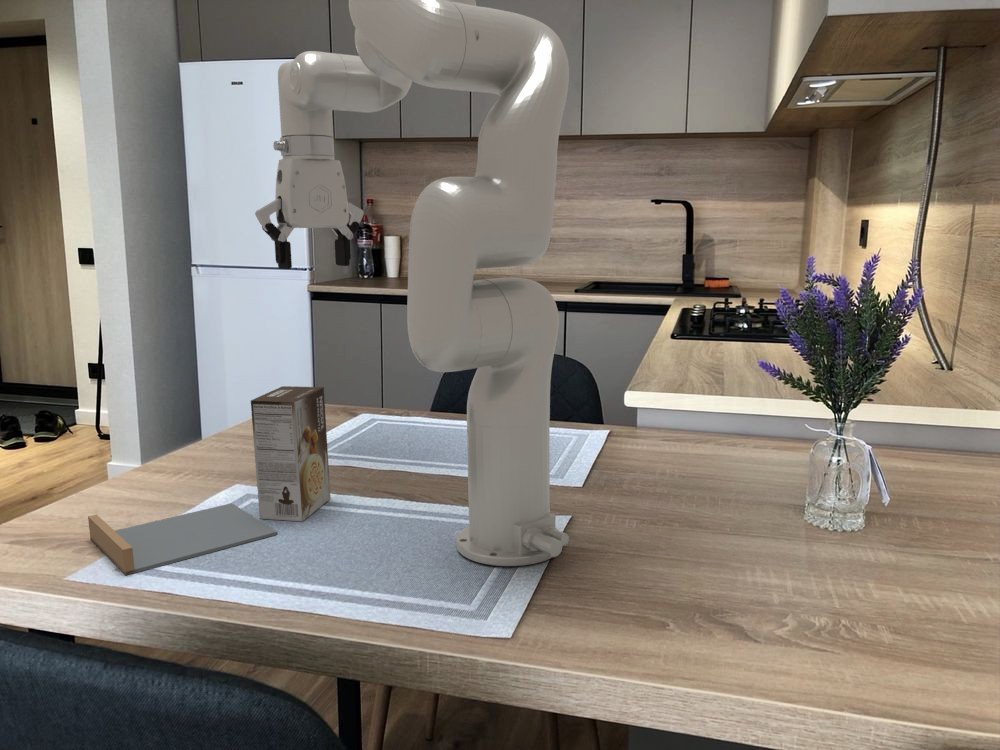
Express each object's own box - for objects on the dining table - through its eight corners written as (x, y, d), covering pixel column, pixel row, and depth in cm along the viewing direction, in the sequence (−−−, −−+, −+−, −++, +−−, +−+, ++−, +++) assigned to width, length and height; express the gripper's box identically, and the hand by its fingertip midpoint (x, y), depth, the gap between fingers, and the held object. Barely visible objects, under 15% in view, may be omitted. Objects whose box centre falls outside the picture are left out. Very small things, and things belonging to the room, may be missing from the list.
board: (277, 534, 104) (276, 511, 103) (125, 575, 93) (122, 549, 92) (232, 505, 114) (230, 484, 114) (90, 539, 103) (87, 516, 103)
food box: (289, 496, 118) (281, 384, 115) (331, 499, 117) (325, 386, 114) (257, 519, 109) (249, 399, 106) (303, 522, 108) (296, 400, 105)
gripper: (264, 146, 116) (272, 271, 119) (372, 151, 127) (376, 265, 130) (241, 150, 121) (249, 269, 125) (347, 154, 132) (351, 263, 135)
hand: (314, 267), depth 127 cm, fingers open, 9 cm apart
